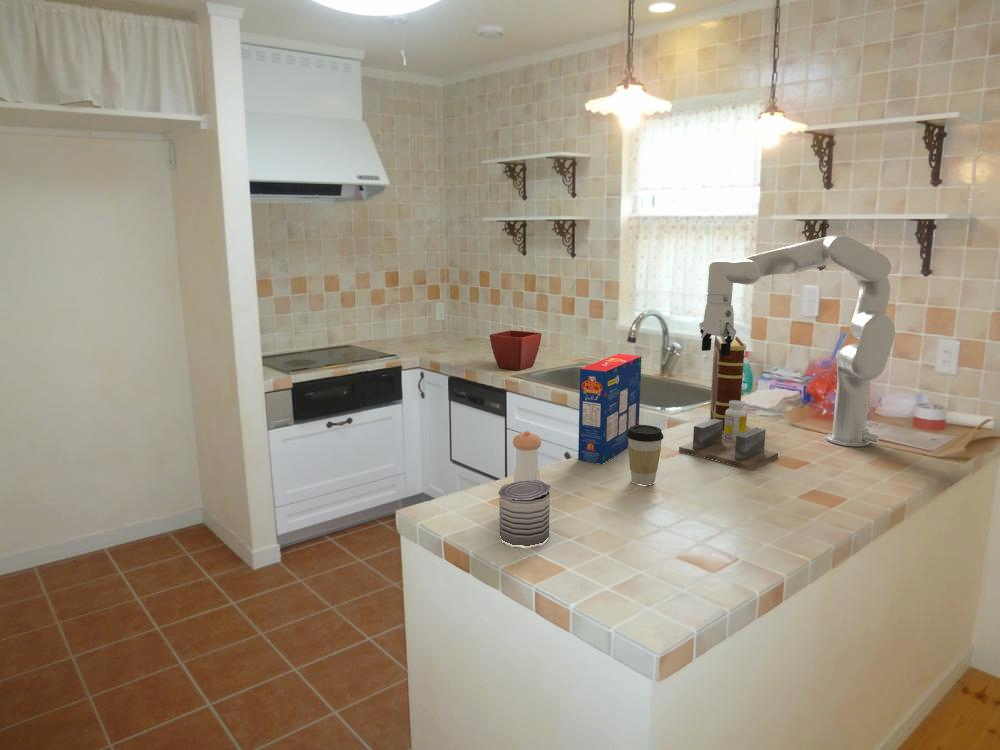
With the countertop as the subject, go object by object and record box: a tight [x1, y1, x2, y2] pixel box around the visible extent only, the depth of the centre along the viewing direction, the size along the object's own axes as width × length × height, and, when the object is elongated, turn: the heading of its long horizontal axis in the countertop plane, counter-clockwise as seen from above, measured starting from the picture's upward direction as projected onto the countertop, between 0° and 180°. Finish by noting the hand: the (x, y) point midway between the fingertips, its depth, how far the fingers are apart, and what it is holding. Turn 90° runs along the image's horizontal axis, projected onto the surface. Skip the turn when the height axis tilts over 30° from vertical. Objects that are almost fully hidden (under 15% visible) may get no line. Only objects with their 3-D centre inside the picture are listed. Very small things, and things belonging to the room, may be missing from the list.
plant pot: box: [489, 330, 543, 371], centre depth 345 cm, size 19×19×17 cm
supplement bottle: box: [723, 400, 748, 443], centre depth 227 cm, size 7×7×13 cm
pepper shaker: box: [512, 430, 542, 482], centre depth 175 cm, size 7×7×19 cm
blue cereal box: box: [577, 353, 643, 465], centre depth 217 cm, size 28×8×28 cm, turn 148°
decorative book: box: [709, 335, 746, 435], centre depth 242 cm, size 22×8×30 cm, turn 168°
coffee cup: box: [626, 424, 664, 485], centre depth 190 cm, size 10×10×15 cm
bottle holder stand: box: [678, 419, 779, 471], centre depth 213 cm, size 24×16×8 cm, turn 43°
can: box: [497, 479, 552, 546], centre depth 157 cm, size 11×11×12 cm
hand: (715, 353), depth 225 cm, fingers open, 9 cm apart
